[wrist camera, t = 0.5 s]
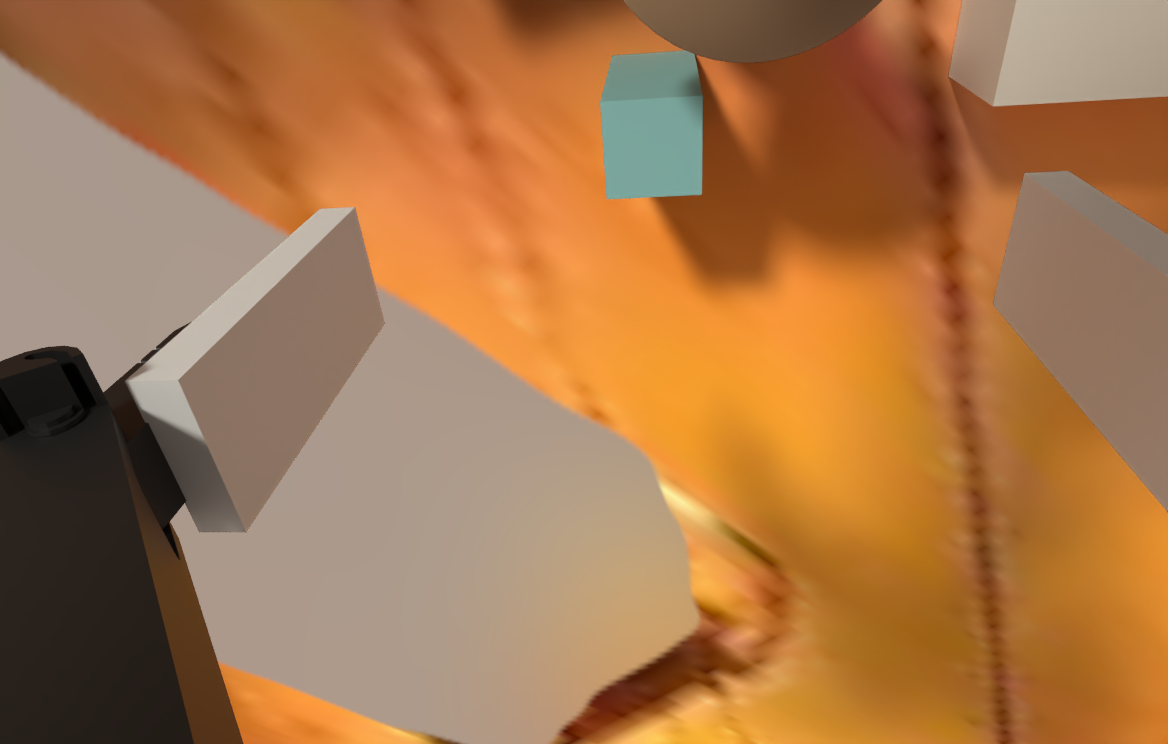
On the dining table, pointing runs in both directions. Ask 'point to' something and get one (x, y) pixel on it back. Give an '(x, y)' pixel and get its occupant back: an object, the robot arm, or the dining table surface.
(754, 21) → the door knob
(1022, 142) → the dining table surface
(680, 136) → the block
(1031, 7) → the notched board
